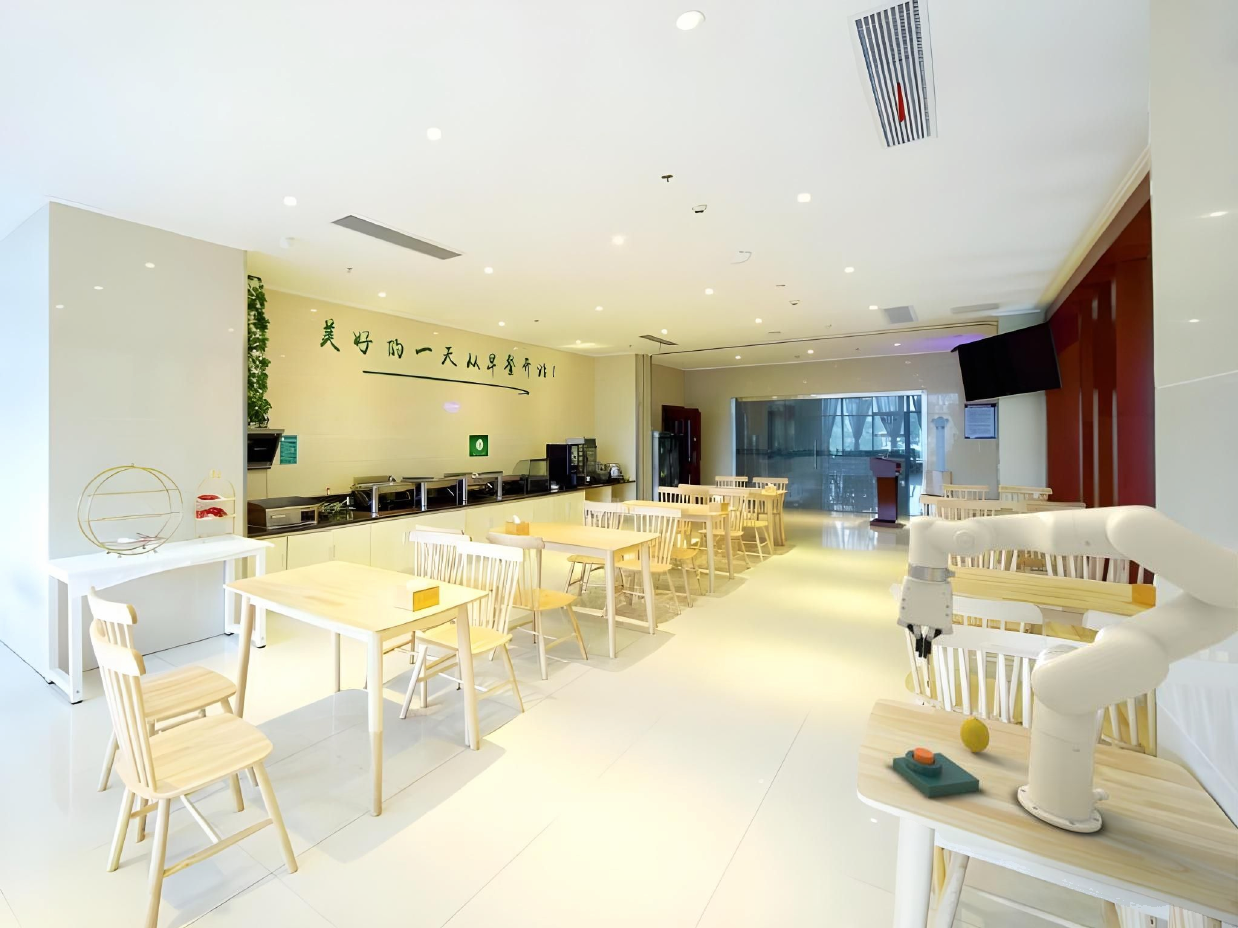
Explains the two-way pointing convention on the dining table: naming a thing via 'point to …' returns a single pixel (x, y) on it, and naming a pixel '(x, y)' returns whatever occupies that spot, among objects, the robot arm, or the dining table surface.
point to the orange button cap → (923, 756)
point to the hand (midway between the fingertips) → (922, 655)
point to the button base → (935, 775)
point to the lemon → (974, 735)
